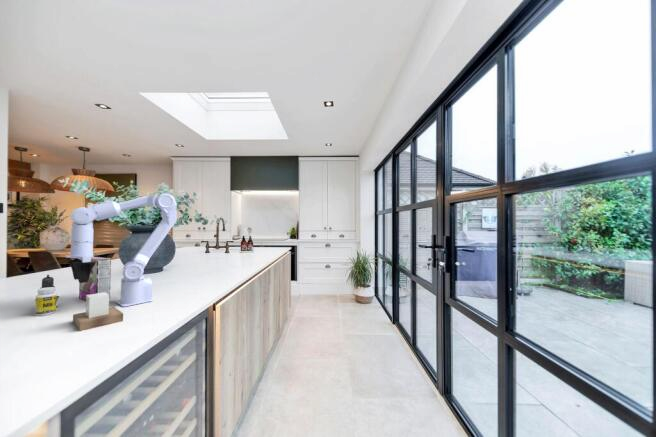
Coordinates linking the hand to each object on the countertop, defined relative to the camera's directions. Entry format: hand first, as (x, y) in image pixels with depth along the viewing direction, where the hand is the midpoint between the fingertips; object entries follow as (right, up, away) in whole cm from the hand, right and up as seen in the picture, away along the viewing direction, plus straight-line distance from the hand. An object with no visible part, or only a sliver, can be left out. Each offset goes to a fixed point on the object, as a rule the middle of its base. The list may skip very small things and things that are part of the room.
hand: (80, 280), depth 92 cm
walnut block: (+15, -11, -10) cm, 21 cm away
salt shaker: (-13, -10, +1) cm, 17 cm away
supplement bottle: (-8, -10, -4) cm, 14 cm away
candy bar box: (-6, -11, +12) cm, 17 cm away
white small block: (+15, -8, -10) cm, 20 cm away
